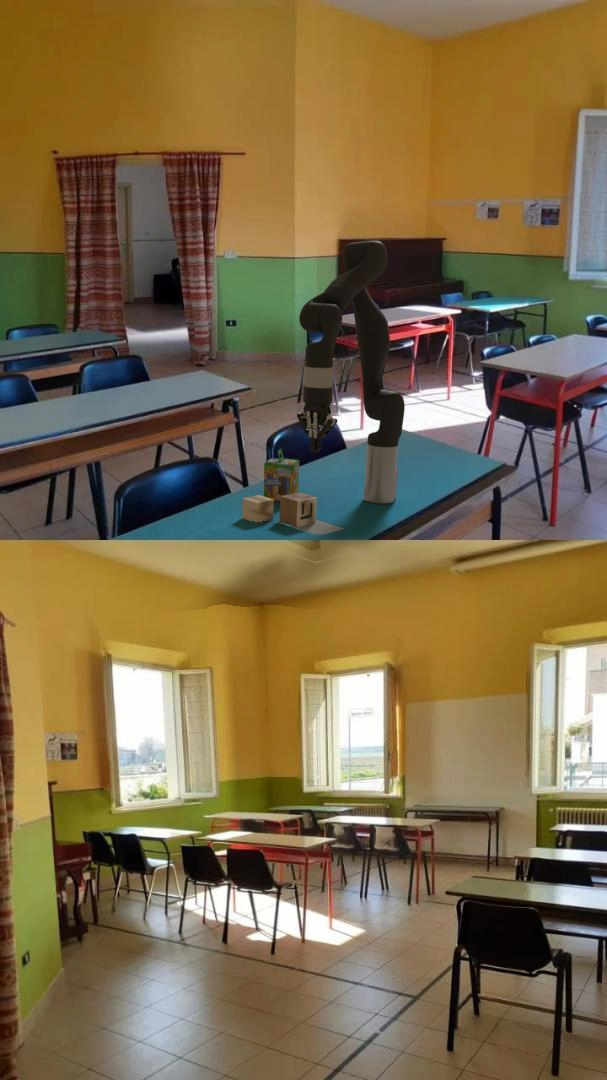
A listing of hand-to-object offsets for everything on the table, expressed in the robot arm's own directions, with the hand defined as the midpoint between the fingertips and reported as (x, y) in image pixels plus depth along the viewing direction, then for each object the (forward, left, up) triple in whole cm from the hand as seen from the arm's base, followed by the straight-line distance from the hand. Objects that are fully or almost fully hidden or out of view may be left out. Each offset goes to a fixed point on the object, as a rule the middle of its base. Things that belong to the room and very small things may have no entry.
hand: (315, 451), depth 217 cm
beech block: (+7, -14, -21) cm, 26 cm away
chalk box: (-14, -27, -21) cm, 37 cm away
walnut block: (0, -2, -17) cm, 17 cm away
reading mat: (0, -1, -21) cm, 21 cm away
